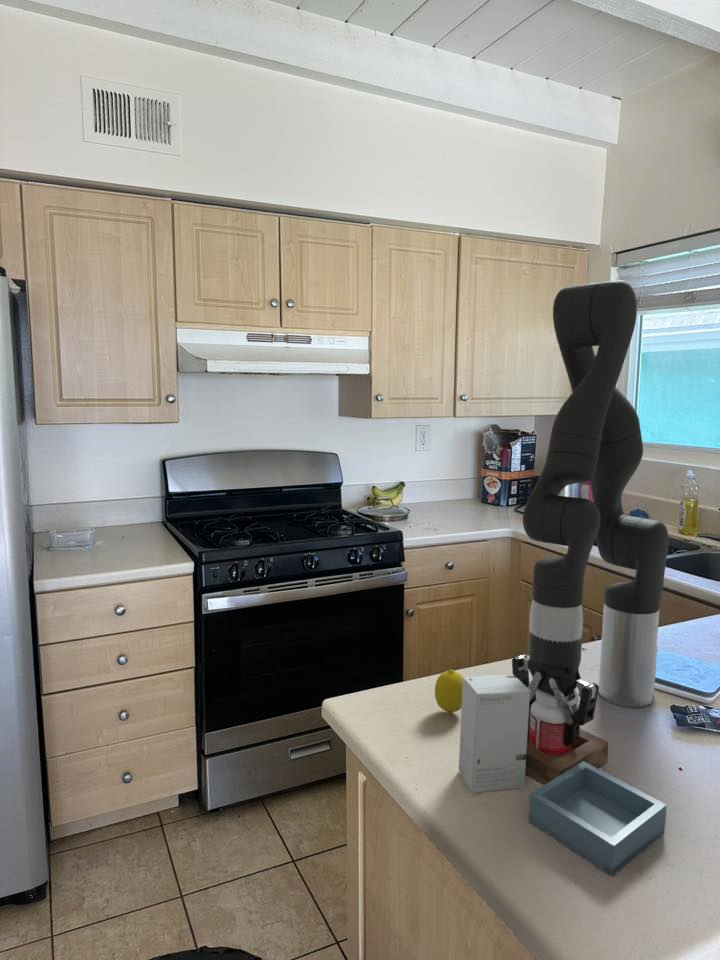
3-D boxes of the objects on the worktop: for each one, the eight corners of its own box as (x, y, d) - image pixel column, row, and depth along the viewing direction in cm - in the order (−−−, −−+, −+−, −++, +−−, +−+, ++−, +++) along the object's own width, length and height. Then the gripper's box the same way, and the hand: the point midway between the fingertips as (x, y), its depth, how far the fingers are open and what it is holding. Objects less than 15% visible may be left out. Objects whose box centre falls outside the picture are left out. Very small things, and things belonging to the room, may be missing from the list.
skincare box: (471, 795, 91) (474, 695, 89) (457, 769, 97) (459, 675, 94) (527, 788, 92) (532, 689, 90) (510, 763, 98) (513, 670, 96)
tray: (581, 787, 93) (583, 761, 92) (664, 833, 83) (666, 804, 83) (528, 821, 85) (529, 794, 85) (612, 876, 76) (614, 845, 75)
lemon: (430, 718, 111) (431, 673, 110) (439, 703, 116) (440, 660, 115) (462, 724, 109) (463, 679, 108) (469, 709, 114) (470, 666, 113)
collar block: (541, 730, 108) (542, 710, 107) (607, 763, 98) (608, 742, 98) (492, 755, 100) (493, 734, 100) (558, 794, 91) (560, 771, 90)
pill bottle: (579, 763, 98) (583, 694, 97) (551, 776, 95) (555, 705, 93) (546, 744, 103) (550, 678, 102) (519, 756, 100) (522, 688, 98)
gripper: (614, 638, 93) (607, 747, 95) (531, 610, 104) (527, 708, 107) (583, 651, 88) (577, 765, 91) (500, 620, 99) (497, 722, 102)
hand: (550, 734), depth 99 cm, fingers closed on pill bottle, 6 cm apart
